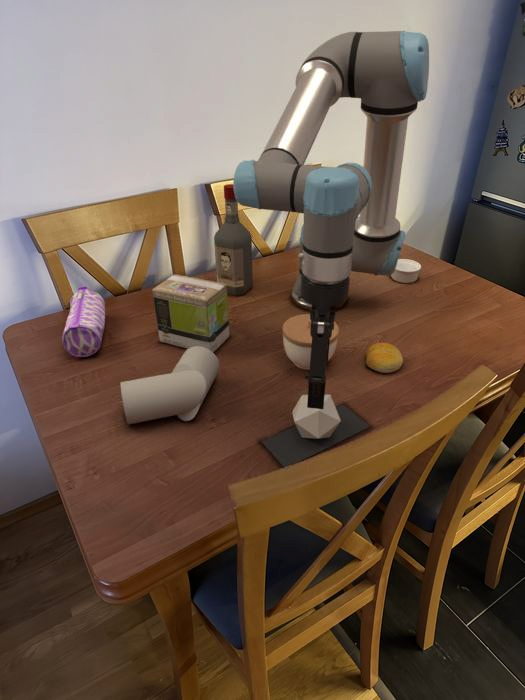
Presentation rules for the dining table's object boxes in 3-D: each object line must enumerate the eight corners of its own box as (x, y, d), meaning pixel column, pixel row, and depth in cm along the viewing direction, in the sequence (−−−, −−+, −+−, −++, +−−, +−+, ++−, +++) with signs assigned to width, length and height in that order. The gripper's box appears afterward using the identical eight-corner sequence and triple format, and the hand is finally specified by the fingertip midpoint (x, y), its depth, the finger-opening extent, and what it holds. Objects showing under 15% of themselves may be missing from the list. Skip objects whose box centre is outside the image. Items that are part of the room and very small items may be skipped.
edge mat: (285, 469, 87) (285, 468, 87) (261, 442, 92) (261, 441, 92) (369, 427, 95) (369, 426, 95) (343, 404, 101) (343, 404, 101)
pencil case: (72, 317, 132) (64, 285, 127) (108, 313, 134) (101, 281, 129) (66, 363, 114) (56, 328, 109) (107, 357, 116) (99, 323, 111)
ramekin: (422, 284, 147) (424, 271, 145) (392, 284, 147) (394, 271, 145) (414, 271, 154) (417, 258, 152) (386, 271, 155) (388, 258, 152)
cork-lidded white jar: (321, 383, 107) (324, 341, 101) (271, 366, 113) (272, 325, 106) (344, 355, 116) (349, 315, 110) (298, 340, 122) (299, 301, 115)
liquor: (229, 279, 151) (224, 179, 134) (255, 285, 147) (253, 183, 131) (214, 291, 144) (206, 188, 127) (241, 298, 141) (237, 192, 124)
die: (324, 458, 89) (354, 414, 87) (282, 435, 88) (312, 389, 86) (318, 439, 98) (346, 398, 96) (280, 418, 97) (307, 376, 95)
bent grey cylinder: (199, 440, 91) (229, 376, 107) (182, 395, 86) (216, 335, 102) (118, 440, 97) (158, 380, 113) (97, 398, 91) (142, 341, 107)
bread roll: (365, 372, 110) (367, 358, 108) (365, 351, 118) (367, 336, 115) (403, 376, 109) (405, 361, 107) (401, 354, 116) (403, 340, 114)
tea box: (230, 336, 124) (228, 283, 115) (211, 356, 116) (206, 301, 108) (180, 323, 129) (174, 271, 121) (158, 342, 121) (150, 288, 113)
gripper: (308, 242, 87) (304, 342, 99) (292, 312, 66) (289, 427, 78) (351, 245, 85) (341, 345, 97) (348, 316, 65) (336, 432, 77)
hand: (318, 382), depth 88 cm, fingers open, 13 cm apart
